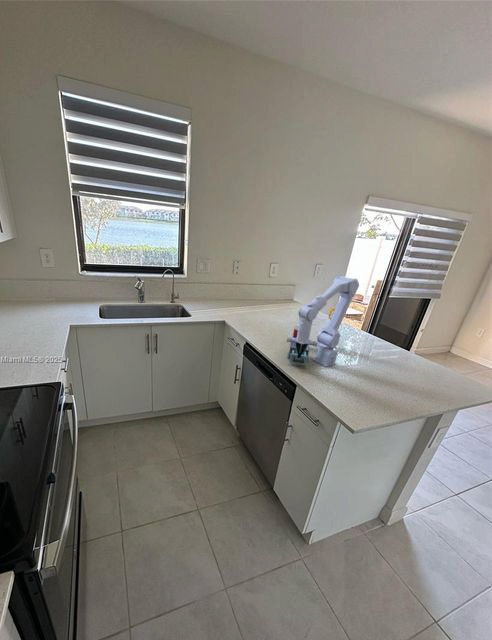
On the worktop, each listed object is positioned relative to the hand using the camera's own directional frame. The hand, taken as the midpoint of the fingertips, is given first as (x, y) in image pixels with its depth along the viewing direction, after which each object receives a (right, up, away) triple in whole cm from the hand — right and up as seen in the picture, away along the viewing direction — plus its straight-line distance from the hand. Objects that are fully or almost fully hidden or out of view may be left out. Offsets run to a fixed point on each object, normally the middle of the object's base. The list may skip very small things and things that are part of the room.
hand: (298, 357), depth 144 cm
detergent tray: (+1, -2, +5) cm, 6 cm away
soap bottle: (+25, +6, +31) cm, 40 cm away
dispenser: (+3, 0, +14) cm, 14 cm away
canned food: (+7, +7, +29) cm, 31 cm away
